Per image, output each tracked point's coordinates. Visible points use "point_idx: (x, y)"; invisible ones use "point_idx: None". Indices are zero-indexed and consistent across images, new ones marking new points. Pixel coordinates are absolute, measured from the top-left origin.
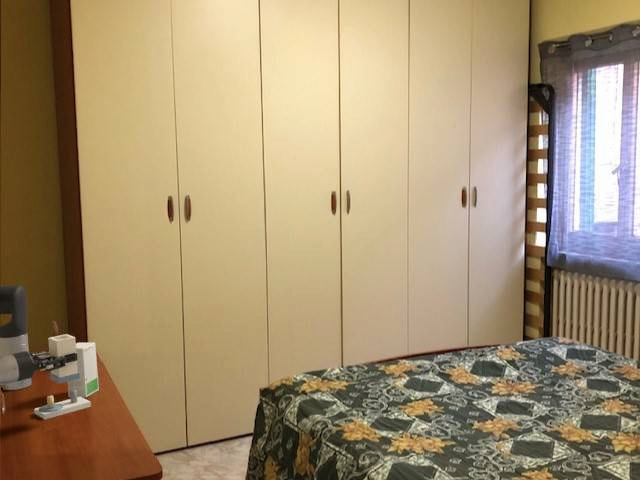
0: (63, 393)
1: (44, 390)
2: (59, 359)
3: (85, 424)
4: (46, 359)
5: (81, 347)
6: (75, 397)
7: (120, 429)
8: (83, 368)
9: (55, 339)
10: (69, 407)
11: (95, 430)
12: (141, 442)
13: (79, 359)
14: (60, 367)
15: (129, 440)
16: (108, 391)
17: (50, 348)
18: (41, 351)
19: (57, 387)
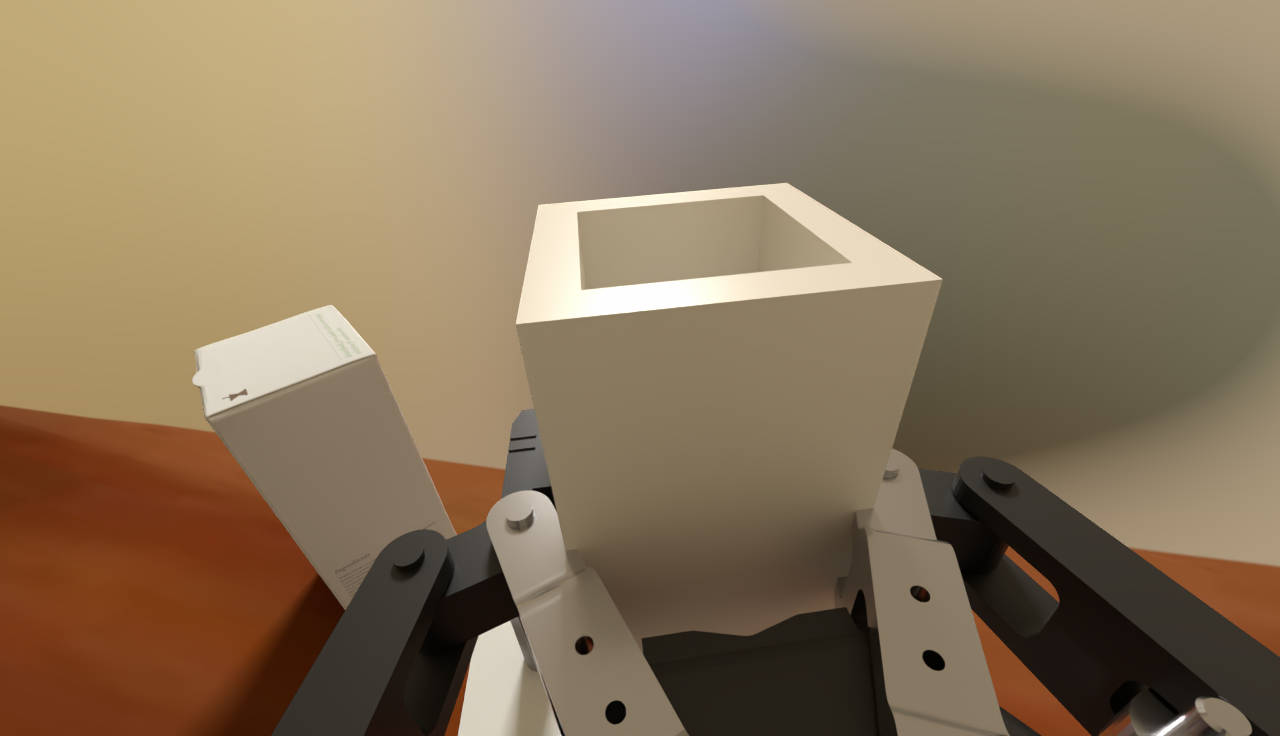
0: (277, 645)
1: (84, 726)
2: (1104, 531)
3: None
4: (1004, 720)
5: (343, 352)
6: None
7: (1042, 585)
8: (418, 461)
9: (764, 277)
10: None
11: (1034, 698)
12: (1266, 567)
13: (375, 428)
14: (1040, 605)
15: (1236, 600)
16: (480, 481)
17: (613, 483)
18: (352, 632)
19: (151, 640)
